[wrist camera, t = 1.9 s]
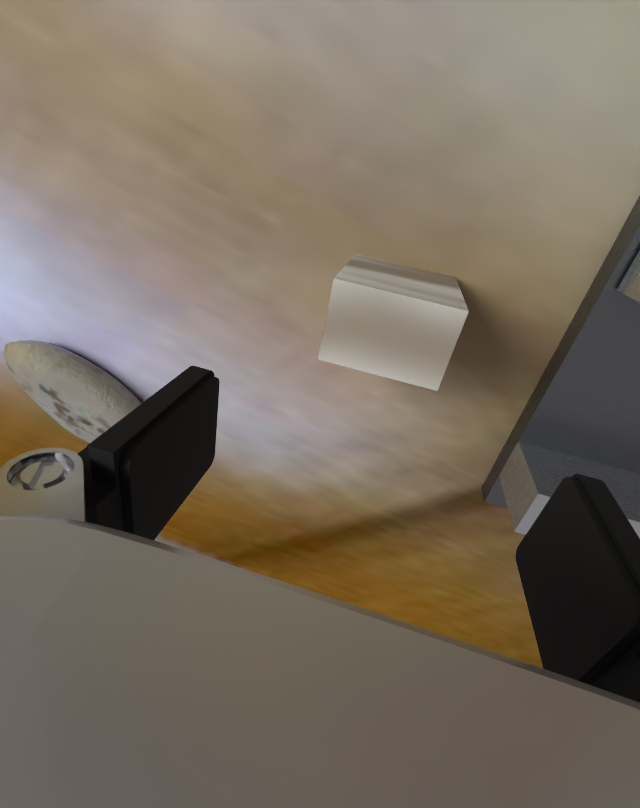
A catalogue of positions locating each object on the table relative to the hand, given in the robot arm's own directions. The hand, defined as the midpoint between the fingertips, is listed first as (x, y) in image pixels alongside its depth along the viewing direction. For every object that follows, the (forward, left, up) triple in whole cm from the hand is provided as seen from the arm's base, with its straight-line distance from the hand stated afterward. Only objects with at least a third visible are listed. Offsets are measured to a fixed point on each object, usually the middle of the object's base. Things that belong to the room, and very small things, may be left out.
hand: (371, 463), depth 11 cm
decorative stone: (+14, -21, -16) cm, 30 cm away
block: (0, 0, -16) cm, 16 cm away
